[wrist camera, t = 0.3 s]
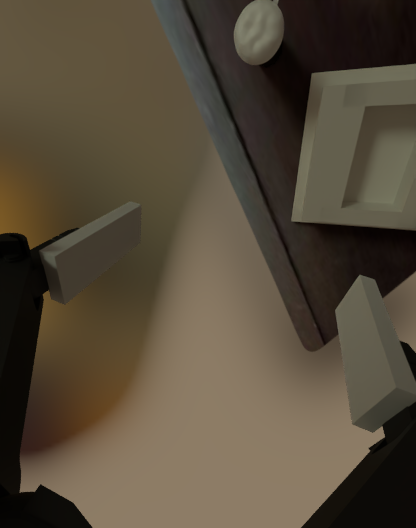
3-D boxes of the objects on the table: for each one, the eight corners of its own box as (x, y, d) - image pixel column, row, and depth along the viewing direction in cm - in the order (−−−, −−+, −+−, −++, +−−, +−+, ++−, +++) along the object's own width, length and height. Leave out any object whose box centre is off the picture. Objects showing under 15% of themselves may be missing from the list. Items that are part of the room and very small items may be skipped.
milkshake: (302, 33, 28) (302, 3, 20) (269, 82, 31) (257, 73, 23) (271, 5, 27) (258, -38, 19) (241, 57, 31) (219, 39, 23)
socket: (311, 74, 29) (312, 69, 26) (510, 56, 24) (546, 47, 20) (291, 218, 39) (290, 230, 35) (431, 228, 33) (446, 243, 30)
